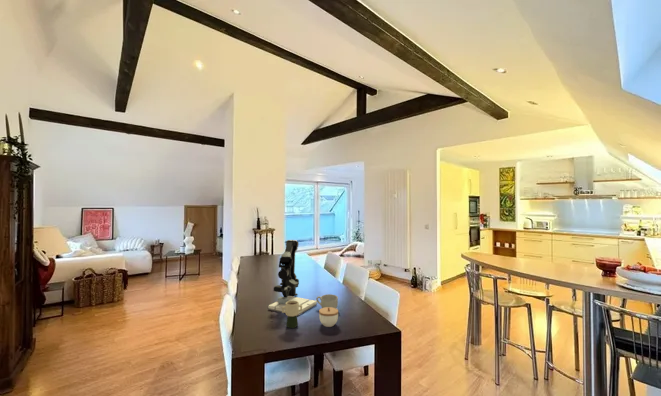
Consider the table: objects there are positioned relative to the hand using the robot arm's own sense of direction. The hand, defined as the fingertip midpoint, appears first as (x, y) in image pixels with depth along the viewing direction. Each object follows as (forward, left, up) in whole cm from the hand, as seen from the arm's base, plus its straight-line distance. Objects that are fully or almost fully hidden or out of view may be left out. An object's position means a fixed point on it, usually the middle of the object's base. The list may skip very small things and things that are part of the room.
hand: (285, 299), depth 192 cm
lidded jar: (+13, +39, -4) cm, 41 cm away
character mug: (+25, +23, -4) cm, 34 cm away
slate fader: (+3, 0, -3) cm, 4 cm away
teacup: (-7, +27, -4) cm, 28 cm away
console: (0, +6, -4) cm, 7 cm away
